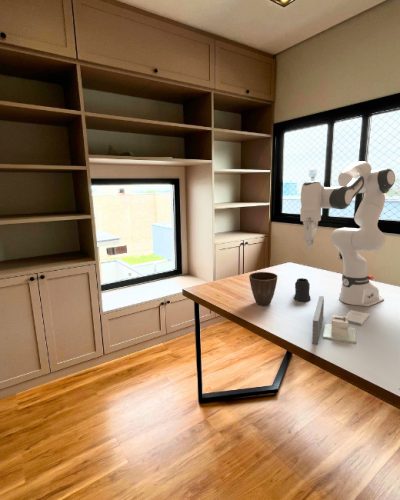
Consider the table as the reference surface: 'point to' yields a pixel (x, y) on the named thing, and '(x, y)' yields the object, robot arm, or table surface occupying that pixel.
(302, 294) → the mug
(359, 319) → the external hard drive
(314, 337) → the screen
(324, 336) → the pad
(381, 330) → the table surface
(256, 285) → the plant pot
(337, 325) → the letter cube
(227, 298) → the table surface
